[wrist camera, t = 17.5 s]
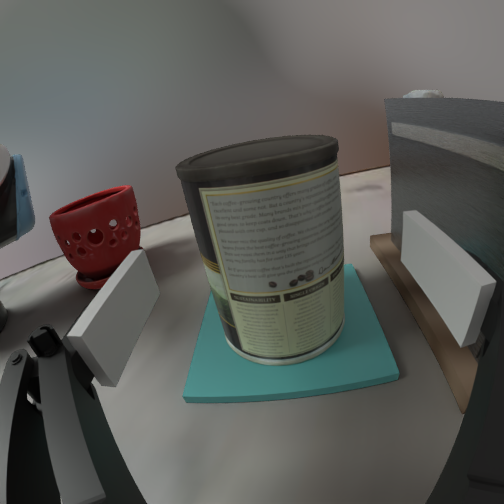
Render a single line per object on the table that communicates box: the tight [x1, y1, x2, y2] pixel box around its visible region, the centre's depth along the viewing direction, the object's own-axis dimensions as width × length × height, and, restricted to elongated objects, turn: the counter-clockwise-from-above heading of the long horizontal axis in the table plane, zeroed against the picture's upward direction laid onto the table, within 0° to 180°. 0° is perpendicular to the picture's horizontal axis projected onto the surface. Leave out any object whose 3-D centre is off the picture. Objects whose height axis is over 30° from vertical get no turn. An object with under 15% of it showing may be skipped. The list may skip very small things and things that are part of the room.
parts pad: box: [183, 264, 399, 403], centre depth 24 cm, size 15×15×1 cm
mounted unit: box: [370, 98, 504, 414], centre depth 18 cm, size 24×10×18 cm, turn 177°
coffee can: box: [176, 135, 345, 366], centre depth 21 cm, size 10×10×14 cm
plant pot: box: [49, 185, 145, 290], centre depth 38 cm, size 13×13×12 cm
